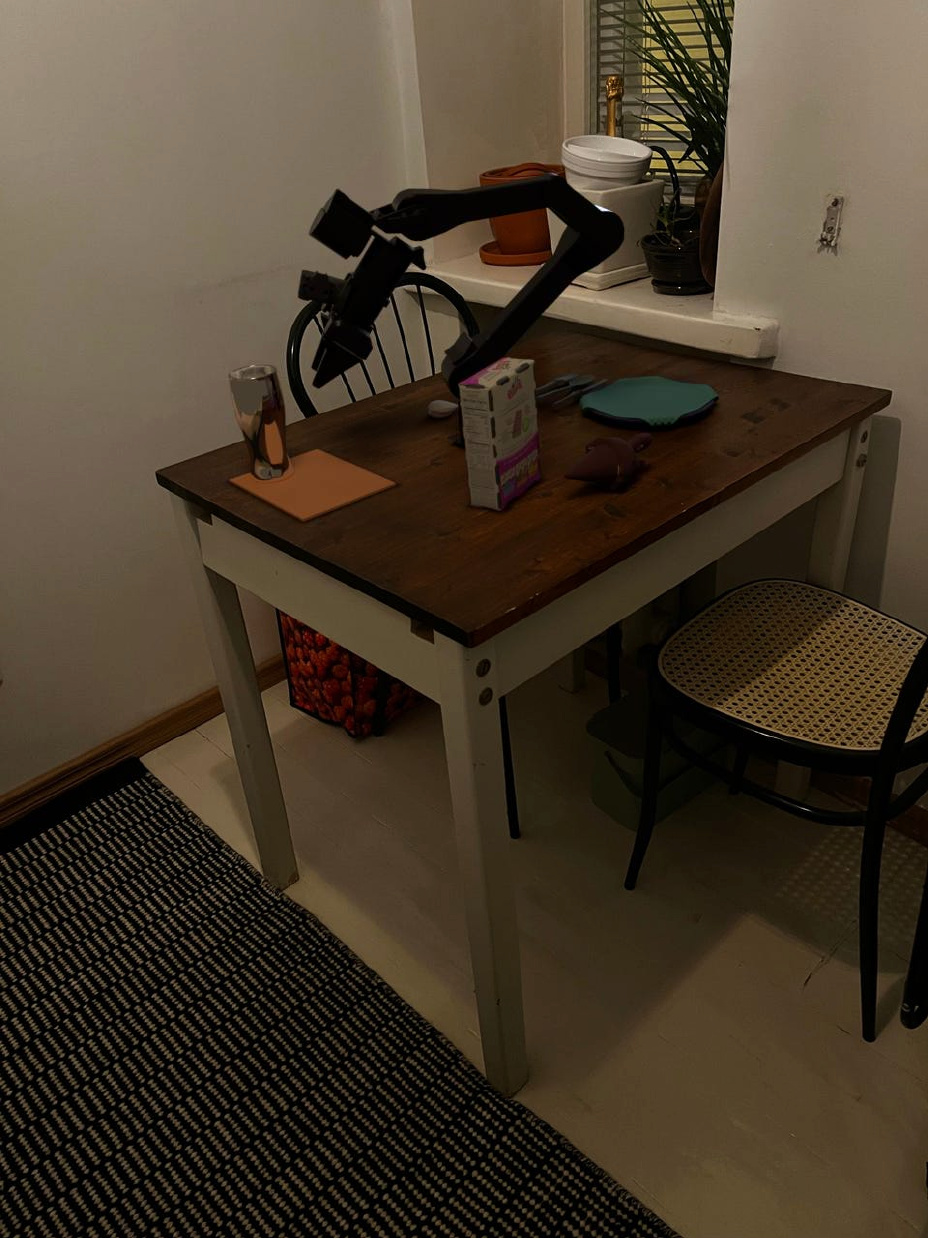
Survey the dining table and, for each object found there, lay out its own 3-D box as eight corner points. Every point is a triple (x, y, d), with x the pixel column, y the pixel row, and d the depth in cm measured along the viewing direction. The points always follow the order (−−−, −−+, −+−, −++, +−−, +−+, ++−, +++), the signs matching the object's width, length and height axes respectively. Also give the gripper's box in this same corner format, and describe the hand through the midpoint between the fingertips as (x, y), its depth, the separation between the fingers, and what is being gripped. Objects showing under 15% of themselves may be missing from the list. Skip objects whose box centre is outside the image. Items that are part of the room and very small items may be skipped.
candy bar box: (510, 474, 131) (502, 355, 122) (542, 479, 128) (537, 358, 120) (467, 506, 123) (456, 381, 115) (500, 512, 121) (492, 386, 112)
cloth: (396, 485, 131) (395, 482, 131) (303, 522, 123) (302, 519, 123) (317, 451, 144) (317, 448, 144) (229, 482, 137) (229, 479, 136)
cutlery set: (667, 442, 136) (667, 426, 135) (509, 406, 155) (508, 392, 154) (739, 402, 148) (740, 387, 147) (584, 372, 167) (584, 359, 165)
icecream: (590, 466, 115) (674, 441, 123) (551, 437, 119) (634, 415, 127) (577, 514, 119) (659, 487, 127) (540, 484, 123) (621, 460, 131)
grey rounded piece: (425, 414, 155) (424, 399, 153) (454, 409, 156) (453, 394, 154) (433, 422, 151) (432, 407, 150) (463, 416, 152) (462, 401, 151)
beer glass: (246, 470, 139) (225, 368, 131) (294, 462, 140) (276, 360, 132) (249, 487, 133) (227, 382, 125) (299, 479, 134) (280, 374, 127)
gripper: (320, 234, 132) (264, 331, 137) (324, 254, 116) (260, 362, 121) (388, 281, 136) (331, 373, 141) (400, 306, 120) (336, 408, 125)
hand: (314, 377), depth 132 cm, fingers open, 9 cm apart
